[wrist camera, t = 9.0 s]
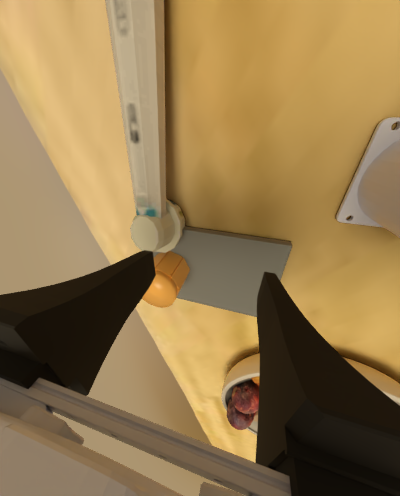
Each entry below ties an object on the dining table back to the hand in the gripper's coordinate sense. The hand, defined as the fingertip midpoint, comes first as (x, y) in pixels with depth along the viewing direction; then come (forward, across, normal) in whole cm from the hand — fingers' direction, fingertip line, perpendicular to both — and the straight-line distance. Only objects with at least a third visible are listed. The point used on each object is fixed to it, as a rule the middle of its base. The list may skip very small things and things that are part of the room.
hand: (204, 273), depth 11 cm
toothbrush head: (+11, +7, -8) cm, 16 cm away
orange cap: (+10, +7, +8) cm, 14 cm away
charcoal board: (+10, +2, +8) cm, 13 cm away
